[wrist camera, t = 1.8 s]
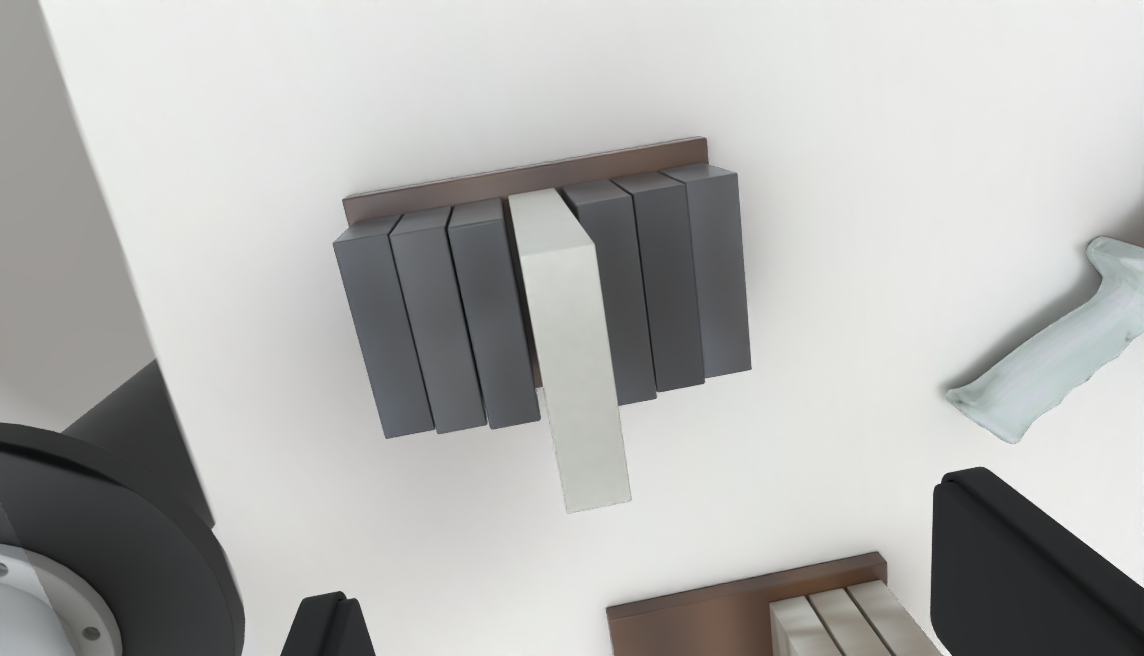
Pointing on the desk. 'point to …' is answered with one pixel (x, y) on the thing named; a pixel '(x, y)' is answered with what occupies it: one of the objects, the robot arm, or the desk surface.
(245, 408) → the desk surface
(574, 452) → the white book
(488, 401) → the grey book row
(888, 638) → the leaning book row
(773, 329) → the desk surface
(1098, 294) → the tape dispenser
